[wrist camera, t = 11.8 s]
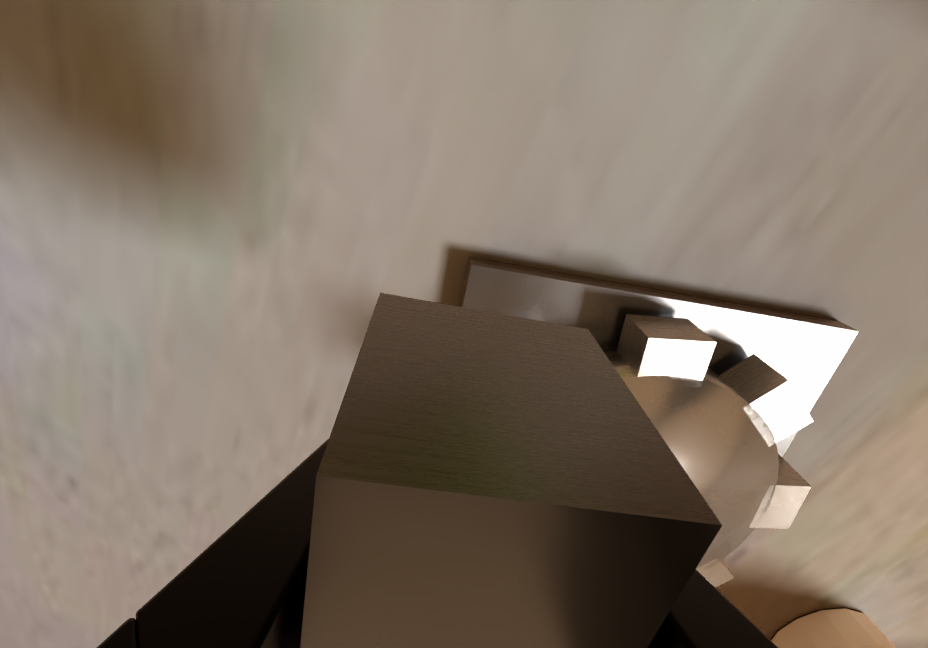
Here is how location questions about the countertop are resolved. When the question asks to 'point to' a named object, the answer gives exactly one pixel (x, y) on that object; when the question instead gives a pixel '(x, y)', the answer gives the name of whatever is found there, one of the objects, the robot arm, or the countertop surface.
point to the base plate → (606, 304)
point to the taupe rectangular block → (494, 493)
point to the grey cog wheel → (717, 427)
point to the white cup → (832, 631)
